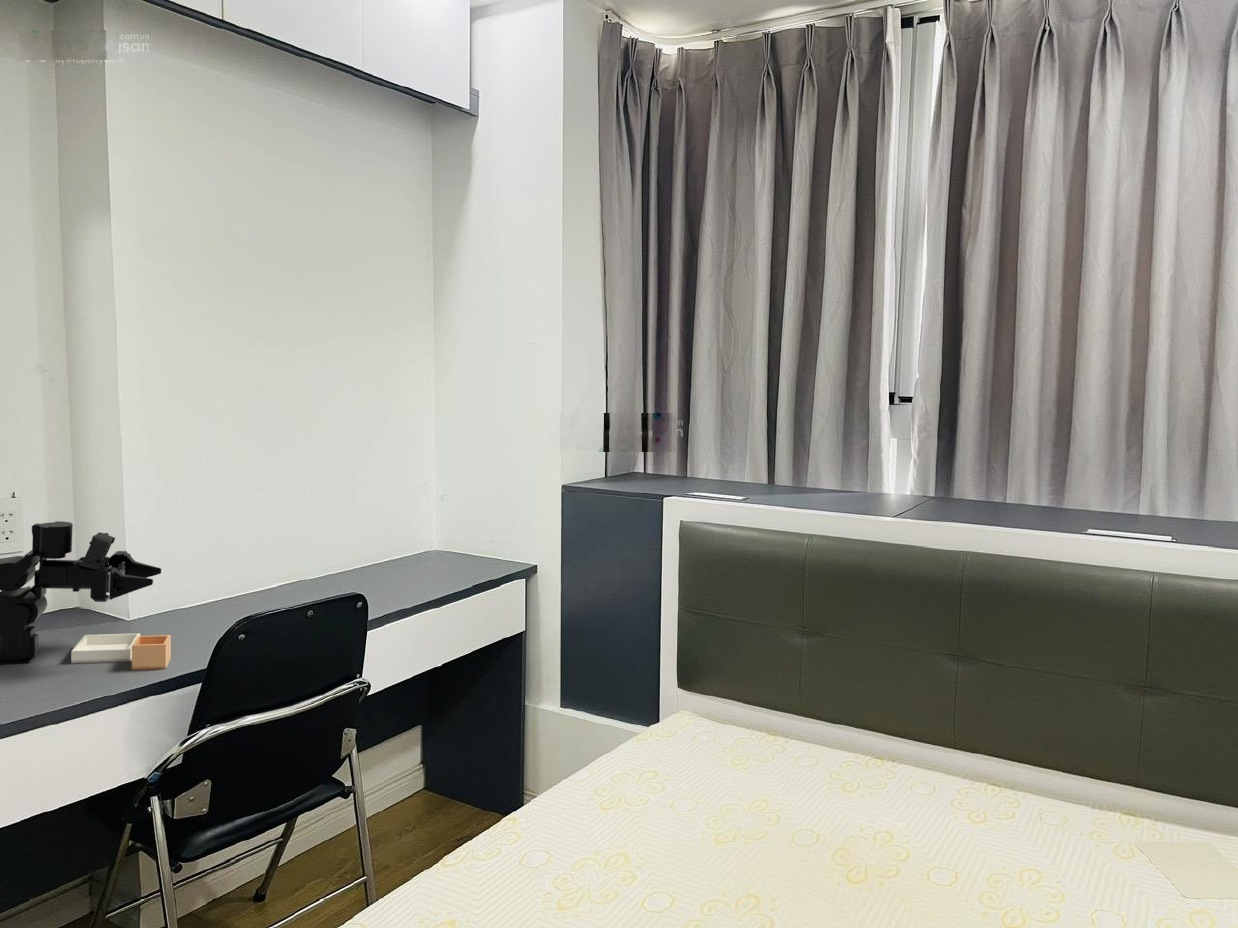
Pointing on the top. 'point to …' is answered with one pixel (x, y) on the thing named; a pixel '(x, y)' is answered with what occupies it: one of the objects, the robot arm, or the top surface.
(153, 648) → the small crate
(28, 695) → the top surface
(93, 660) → the cream square tray
